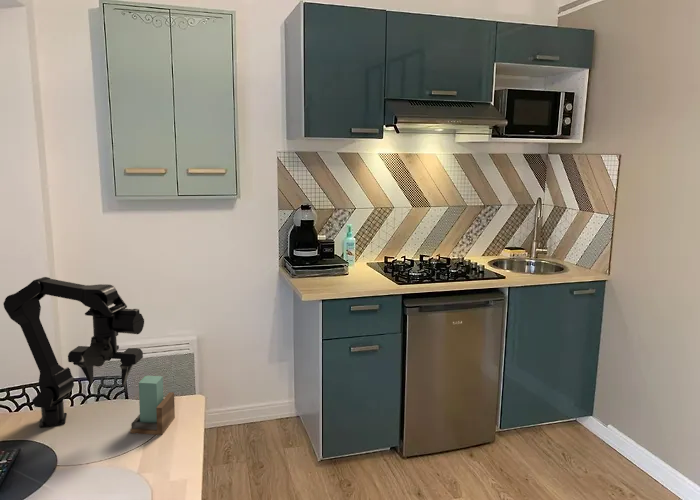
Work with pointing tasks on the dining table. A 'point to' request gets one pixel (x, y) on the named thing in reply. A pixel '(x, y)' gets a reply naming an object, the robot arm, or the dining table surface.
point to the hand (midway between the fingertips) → (107, 384)
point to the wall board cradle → (163, 418)
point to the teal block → (150, 397)
